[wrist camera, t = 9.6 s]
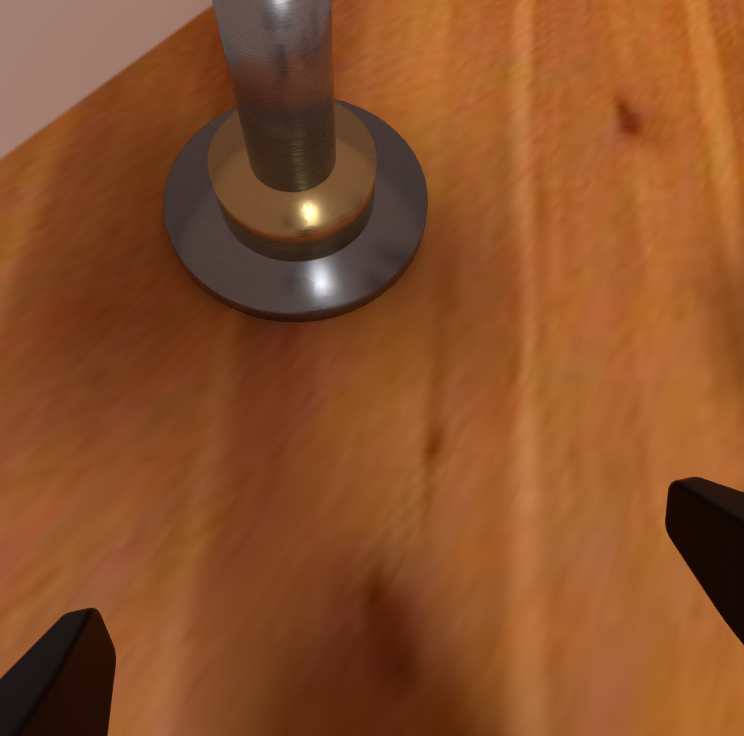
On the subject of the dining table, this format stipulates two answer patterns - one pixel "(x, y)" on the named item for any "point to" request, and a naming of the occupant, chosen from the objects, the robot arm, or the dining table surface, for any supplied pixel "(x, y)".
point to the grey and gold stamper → (288, 135)
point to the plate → (308, 278)
